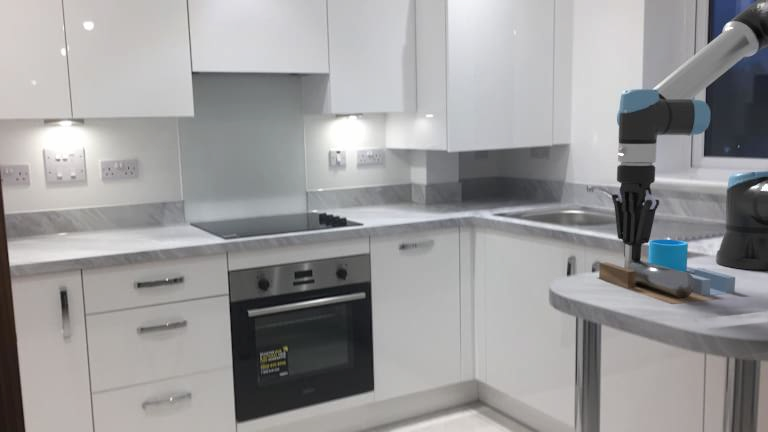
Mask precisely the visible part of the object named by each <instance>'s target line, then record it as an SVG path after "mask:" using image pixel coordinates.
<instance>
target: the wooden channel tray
mask: <svg viewBox="0 0 768 432" xmlns="http://www.w3.org/2000/svg"><path fill="white" fill-rule="evenodd" d="M598 271H599V273H598V276H599V277H597V279H598V280H601V281H604V282H606V283H610V284H612V285H615V286H618V287H620V288H621V287H622V288H624V289H626V290H630V291H632V292H636V293H638V294H641V295H644V296H647V297H649V298H653V299H656V300H659V301H661V302H665V303H667V304H670V305H676V304H686V303H695V302H703V301H704V302H706V301H715V300H716V299H715V298H712V297H709V296H704V295H699V294H696V293H693V292H692V293H691V294H690V295H689V296H688V297H686V298H679V297H676V296H672V295H669V294H666V293H663V292H660V291H657V290H654V289H651V288H648V287H645V286H642V285H639V284H636V283H635V282H636V271H633V270H630V269H627V268H624V266H620V265H616V264H613V263H610V262H599V269H598Z"/></svg>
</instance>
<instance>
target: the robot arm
mask: <svg viewBox="0 0 768 432" xmlns="http://www.w3.org/2000/svg"><path fill="white" fill-rule="evenodd" d="M721 32H722V33H720V34H719V35H718V36H717V37H715V38H714V39H713V40H711V41H710V42H709V43H708V44H707V45H705V46H704V47H703V48H702V49H700V50H699V51H698V52H696V53H695V54H694V55H693V56H691V57H690V58H689V59H688V60H687V61H685V62H684V63H683V64H682V65H681V66H679V67H678V68H677V69H676V70H674V71H673V72H671V74H669V75H668V76H667V77H665V79H663V80H662V81H661V82H660V83H658V84H656V85H655V86H654V87H653V88H652V89H651V88H650V89H649V88H638V89H637V88H635V89H625V90H624V91H622V93H621V94H620V100H619V110H618V111H617V114H616V122H617V126H618V149H617V151H618V152H617V161H618V163H620V164H618V165H617V167H616V168H617V170H616V181H617V182H618V183H620V187H619V192H618V193H617V194H616V193H615V194H612V196H611V199H612V202H613V205H614V213H615V225H616V232H617V238H618V240H622V243H623V244H624V245H623V247H624V248H623V257H624V262H623V263H624V264H623V265H624V266H623V267H624V268H627V269H628V267H629V265H630V264H631V263H632V262H633V261H635V260H641V258H642V257H641V255H642V245H645V244H649V241H650V238H651V234H652V229H653V224H654V220H655V217H656V211H657V209H658V207H659V205H660V200H659V199H654V198H653V196H652V190H651V184H654V183H655V180H656V166H655V165H653V164H654V163H656V162H657V144H658V143H657V138H658V136H688V137H690V136H695V135H700V134H703V133H704V132H705V131H706V130H707V129H708V128H709V125H710V124H711V123H710V122H711V115H712V114H711V109H710V106H709V105H708V103H706V102H705V101H703V100H702V99H694V98H695V97H696V96H697V95H698V94H700V93H701V92H702V91H703V90H705V89H706V88H708V86H710V85H711V84H713V82H715V81H716V80H717V79H718V78H720V77H721V76H722V75H724V74H725V73H726V72H727V71H728V70H730V69H731V68H732V67H733V66H735V65H736V64H737V63H738V62H740V61H741V60H742V59H743V58H749V57H751V56H753V55H755V54H756V53H758V52H759V51H760V50H762V49H764V48H767V47H768V0H756V1H755V2H753V3H752V4H750V5H749V6H747V7H746V8H745V9H743V10H742V11H741V12H740V13H738V14H737V15H736V16H734V17H733V18H732V19H731V20H730V21H728V22H727V23H726V24H725V25H724V26H723V28H722V31H721ZM727 181H728V182H727V187H726V203H725V204H726V206H725V207H726V209H725V229H724V234H723V237H722V240H721V243H720V245H719V246H720V247H719V250H717V252H716V255H715V262H716V264H718V265H721V266H725V267H729V268H734V269H742V270H751V271H752V270H756V271H758V270H759V271H768V170H761V171H745V172H736V173H735V172H734V173H733V174H730V176H729V177H728V180H727Z"/></svg>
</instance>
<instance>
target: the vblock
mask: <svg viewBox="0 0 768 432" xmlns="http://www.w3.org/2000/svg"><path fill="white" fill-rule="evenodd" d="M681 272H682V271H681ZM685 273H687V272H685ZM689 274H690V275H691V276H692V277H693V279H694V283H695V285H694V289H693V293H696V294H699V295H703V296H706V297H709V296H717V295H726V294H727V295H729V294H735V288H736V287H735V286H736V277H735V276H732V275H728V274H724V273H721V272H716V271H714V270H709V269H706V268H695V269H694V274H692V273H689Z"/></svg>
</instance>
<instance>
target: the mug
mask: <svg viewBox="0 0 768 432" xmlns="http://www.w3.org/2000/svg"><path fill="white" fill-rule="evenodd" d="M688 245H689V243H688V242H686V241H684V240H677V239H664V238H663V239H652V240H649V242H648V262H649V263H653V264H656V265H660V266H663V267H667V268H671V269H674V270H678V271H682V272H686V273H688V272H687V271H688V270H687V269H688V267H687V266H688V249H689V246H688Z"/></svg>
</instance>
